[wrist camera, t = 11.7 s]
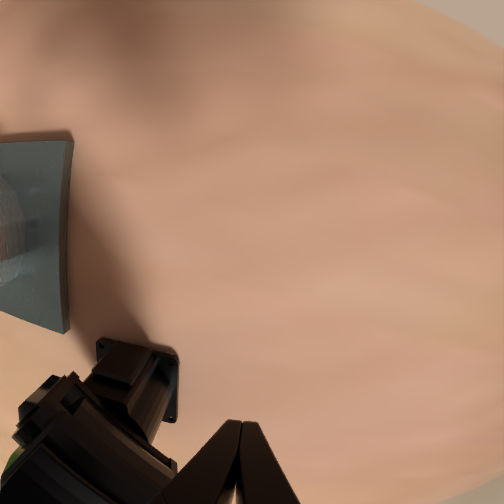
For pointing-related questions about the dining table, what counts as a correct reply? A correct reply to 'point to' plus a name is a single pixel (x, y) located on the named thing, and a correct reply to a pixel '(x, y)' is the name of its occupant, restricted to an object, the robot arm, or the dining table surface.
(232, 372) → the dining table surface
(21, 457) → the robot arm
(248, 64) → the dining table surface
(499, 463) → the dining table surface
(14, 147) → the square base plate
